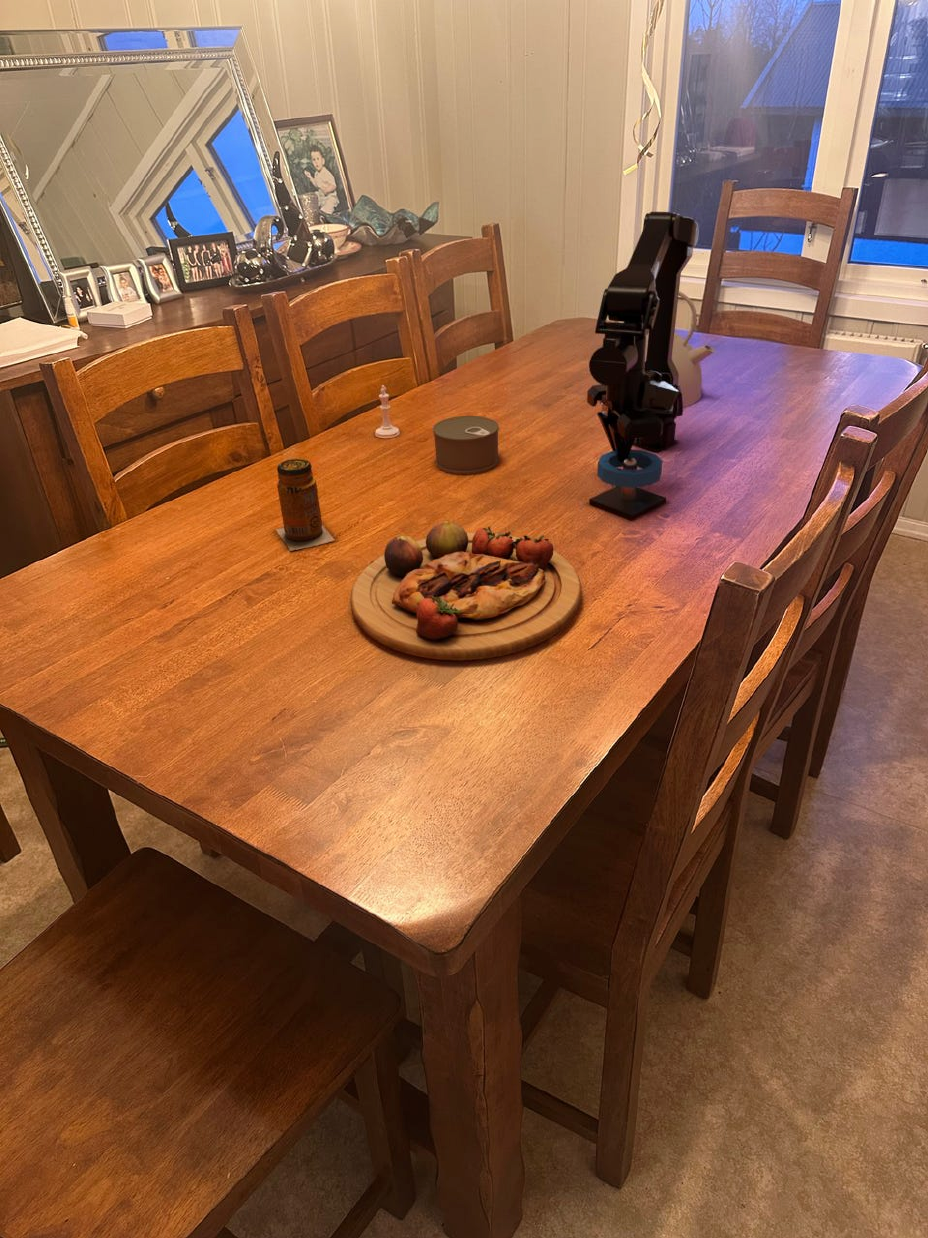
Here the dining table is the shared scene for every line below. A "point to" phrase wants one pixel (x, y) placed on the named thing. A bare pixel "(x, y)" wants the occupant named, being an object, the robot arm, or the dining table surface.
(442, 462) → the can
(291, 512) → the condiment
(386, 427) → the chess piece
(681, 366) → the kettle
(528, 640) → the wooden plate
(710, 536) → the dining table surface
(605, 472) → the blue ring
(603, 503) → the peg stand
